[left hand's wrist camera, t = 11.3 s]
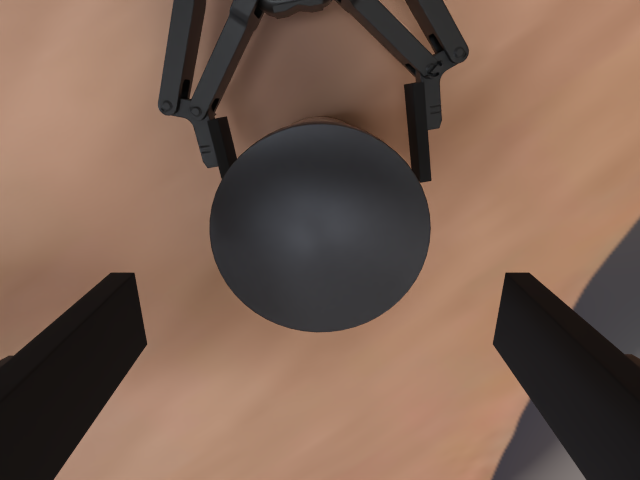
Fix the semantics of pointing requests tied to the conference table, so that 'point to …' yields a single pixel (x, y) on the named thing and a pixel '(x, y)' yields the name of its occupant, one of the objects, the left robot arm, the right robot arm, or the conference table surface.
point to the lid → (320, 227)
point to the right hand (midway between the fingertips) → (329, 193)
